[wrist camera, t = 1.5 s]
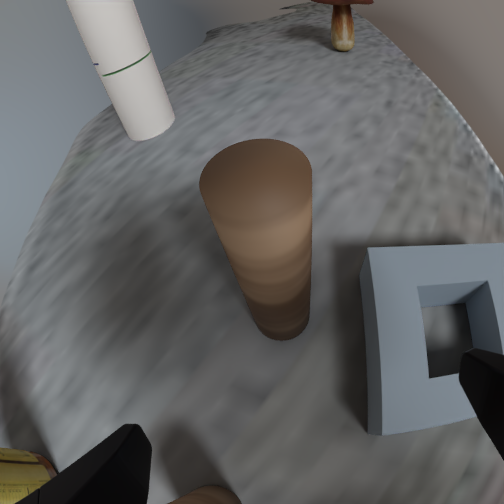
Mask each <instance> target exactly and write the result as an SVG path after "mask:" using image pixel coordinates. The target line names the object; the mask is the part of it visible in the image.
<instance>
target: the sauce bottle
mask: <svg viewBox="0 0 504 504" xmlns="http://www.w3.org/2000/svg"><path fill="white" fill-rule="evenodd" d="M56 475H57V473H56V472H55V470H54V468H53V466H52V465H51V463H50V462H49V461H48V460H47V459H46V458H45V457H43V456H42V455H39V454H37V453H34V452H27V451H25V450H18V449H8V448H0V504H14V503H16V502H18V501H20V500H21V499H23V498H24V497H26V496H27V495H29V494H30V493H32V492H33V491H35V490H36V489H38V488H40V487H41V486H42V485H43V484H45V483H46V482H48V481H49V480H51V479H52V478H53V477H55V476H56Z"/></svg>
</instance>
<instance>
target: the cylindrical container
mask: <svg viewBox="0 0 504 504" xmlns="http://www.w3.org/2000/svg"><path fill="white" fill-rule="evenodd" d="M66 2H67V4H68V7H69V9H70V11H71V14H72V16H73V19H74V21H75V23H76V26H77V28H78V30H79V32H80V35H81V37H82V39H83V42H84V44H85V46H86V48H87V51H88V53H89V55H90V57H91V60H92V62H93V63H94V66H95V68H96V70H97V73H98V75H99V77H100V79H101V81H102V83H103V85H104V87H105V90H106V92H107V94H108V96H109V98H110V100H111V102H112V104H113V106H114V108H115V110H116V112H117V114H118V116H119V118H120V120H121V122H122V124H123V126H124V128H125V130H126V132H127V134H128V136H129V138H130V139H131V140H134V141H143V140H147V139H151V138H153V137H155V136H157V135H159V134H161V133H163V132H164V131H166V130H167V129H168V128H169V127H170V126H171V125H172V124H173V122H174V120H175V115H174V112H173V110H172V107H171V104H170V102H169V99H168V96H167V94H166V91H165V88H164V85H163V83H162V80H161V77H160V75H159V72H158V69H157V66H156V64H155V61H154V58H153V55H152V52H151V50H150V47H149V44H148V41H147V39H146V36H145V33H144V31H143V27H142V25H141V22H140V19H139V16H138V14H137V11H136V8H135V5H134V2H133V0H66Z"/></svg>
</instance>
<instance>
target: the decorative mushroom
mask: <svg viewBox="0 0 504 504" xmlns="http://www.w3.org/2000/svg"><path fill="white" fill-rule="evenodd" d="M311 1H314V2H317V3H323V4H330V5H333V13H332V21H331V40H332V44H333V46H334V48H336V49H337V50H339V51H344V52H345V51H349V50H351V49H352V48H353V46H354V23H353V19H352V14H351V7H350V4H372V3H373V0H311Z"/></svg>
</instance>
